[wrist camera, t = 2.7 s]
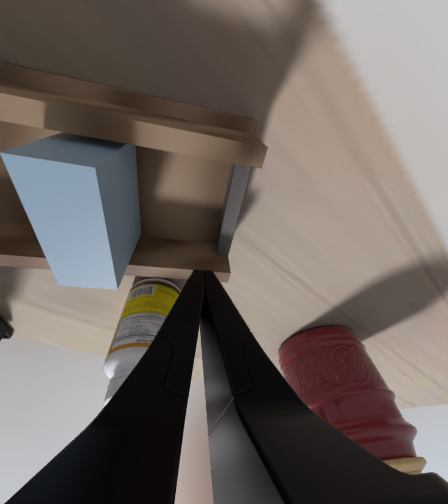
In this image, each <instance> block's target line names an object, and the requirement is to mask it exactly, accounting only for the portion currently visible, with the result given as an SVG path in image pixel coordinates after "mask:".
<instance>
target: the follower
mask: <svg viewBox="0 0 448 504" xmlns="http://www.w3.org/2000/svg"><path fill="white" fill-rule="evenodd" d="M0 155H1V157H2V159H3V161H4V164H5V166H6V168H7V170H8V173H9V175H10V177H11V180H12V182H13V184H14V186H15V189H16V191H17V193H18V195H19V198H20V200H21V202H22V204H23V207H24V209H25V211H26V213H27V216H28V218H29V220H30V223H31V225H32V227H33V229H34V232H35V234H36V236H37V238H38V241H39V243H40V245H41V247H42V250H43V252H44V254H45V257H46V259H47V261H48V263H49V266H50V268H51V270H52V272H53V275H54V277H55V279H56V281H57V284H58V286H69V287H85V288H102V289H118V287H119V285H120V283H121V280H122V278H123V275H124V273H125V271H126V268H127V266H128V263H129V261H130V259H131V256H132V254H133V251H134V249H135V247H136V244H137V242H138V239H139V237H140V235H141V223H140V208H139V193H138V177H137V162H136V146H135V145H131V144H125V143H120V142H114V141H109V140H103V139H98V138H92V137H87V136H81V135H76V134H71V133H65V132H61V133H58V134H55V135H52V136H49V137H46V138H43V139H40V140H37V141H34V142H31V143H27V144H24V145H21V146H18V147H15V148H12V149H9V150H6V151H3V152H0Z"/></svg>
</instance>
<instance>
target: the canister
mask: <svg viewBox="0 0 448 504" xmlns="http://www.w3.org/2000/svg"><path fill="white" fill-rule="evenodd" d="M278 355H279V364H280V368H281V371H282V373H283V375H284V378H285V380H286V381H287V382H288V383H289V385H290V386H291V387H292V389H293V390H294V391H295V392H296V394H297V395H298V396H299V397H300V399H301V400H302V401H303V402H304V403H305V404H306V405H307V406H308V407H309V408H310V409H311V410H312V411H313V412H314V413H316V414H317V415H318V416H319V417H321V418H322V419H324V420H325V421H326V422H328V423H329V424H331V425H332V426H333V427H335V428H336V429H338V430H339V431H341V432H342V433H343V434H345V435H346V436H348V437H349V438H350V439H352V440H353V441H355V442H356V443H357V444H359V445H360V446H362V447H363V448H365V449H366V450H367V451H369V452H370V453H372V454H373V455H374V456H376V457H377V458H379V459H380V460H382V461H383V462H385V463H386V464H388V465H389V466H391V467H393V468H395V469H397V470H399V471H401V472H404V473H407V474H421V471H422V470H423V468H424V466H425V464H426V460H425V459H424V458H423V457H417V456H416V452H415V449H414V445H413V440H414V438H415V436H416V434H417V430H416V428H415V427H414V426H413V425H411V424H410V423H408V422H407V421H405V419H404V418H403V417H402V415H401V413H400V411H399V409H398V407H397V405H396V403H395V401H394V400H395V394H394V392H392V391H391V390H390V389H389V387H388V386H387V384H386V383H385V381H384V379H383V378H382V376H381V375H380V373H379V371H378V370H377V368H376V367H375V365H374V363H373V362H372V360H371V358H370V357H369V355H368V354H367V352H366V349H365V346H364V345H363V344H362V342H361V340H360V339H359V338H358V337H357V336H356V335H355V334H354V332H353V331H352V330H350V329H348V328H345V327H340V326H325V327H319V328H314V329H310V330H307V331H304V332H302V333H299V334H297V335H295V336H293V337H291V338H290V339H288V340H287V341H286V342H285V343H284V344H283V345H282V346H281V347H280V349H279V352H278Z"/></svg>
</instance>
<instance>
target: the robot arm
mask: <svg viewBox="0 0 448 504" xmlns="http://www.w3.org/2000/svg"><path fill="white" fill-rule="evenodd" d="M199 325H200V334H201V347H202V360H203V373H204V385H205V397H206V411H207V423H208V435H209V450H210V463H211V475H212V487H213V500H214V504H448V482H447V481H445V480H444V479H443V478H442V477H440V476H439V475H438V474H436V473H433V472H431V473H421V474H407V473H404V472H401V471H399V470H397V469H395V468H393V467H391V466H389V465H388V464H386V463H385V462H383V461H382V460H380V459H379V458H377V457H376V456H374V455H373V454H372V453H370V452H369V451H367V450H366V449H365V448H363V447H362V446H360V445H359V444H357V443H356V442H355V441H353V440H352V439H350V438H349V437H348V436H346V435H345V434H343V433H342V432H341V431H339V430H338V429H336V428H335V427H333V426H332V425H331V424H329V423H328V422H326V421H325V420H324V419H322V418H321V417H319V416H318V415H317V414H316V413H314V412H313V411H312V410H311V409H310V408H309V407H308V406H307V405H306V404H305V403H304V402H303V401H302V400H301V399H300V397H299V396H298V395H297V394H296V392H295V391H294V390H293V389H292V387H291V386H290V385H289V383H288V382H287V381H286V380H285V378H284V377H283V376H282V374H281V373H280V372H279V371H278V369H277V368H276V367H275V365H274V364H273V363H272V362H271V360H270V359H269V357H268V356H267V355H266V353H265V352H264V351H263V349H262V348H261V346H260V345H259V343H258V342H257V340H256V339H255V337H254V335H253V334H252V332H250V329H249V327H248V326H247V324H246V323H245V321H244V319H243V318H242V316H241V315H240V313H239V311H238V310H237V308H236V307H235V305H234V303H233V302H232V300H231V299H230V297H229V296H228V294H227V292H226V291H225V289H224V288H223V286H222V284H221V283H220V281H219V280H218V278H217V276H216V275H215V273H214V272H213V271H212V270H204V271H203V270H201V269H194V270H193V272H192V274H191V275H190V277H189V279H188V280H187V282H186V284H185V286H184V287H183V289H182V291H181V293H180V294H179V296H178V298H177V300H176V301H175V303H174V305H173V306H172V308H171V310H170V312H169V313H168V315H167V317H166V319H165V320H164V322H163V324H162V326H161V327H160V330H159V331H158V332H157V334H156V336H155V337H154V339H153V341H152V342H151V344H150V345H149V347H148V349H147V350H146V352H145V353H144V355H143V356H142V357H141V359H140V360H139V362H138V363H137V365H136V366H135V367H134V369H133V370H132V371H131V373H130V374H129V375H128V377H127V378H126V379H125V381H124V382H123V383H122V385H121V386H120V387H119V389H118V390H117V391H116V393H115V394H114V395H113V397H112V398H111V399H110V401H109V402H108V403H107V404H106V406H105V407H104V408H103V409H102V411H101V412H100V413H99V414H98V416H97V417H96V418H95V419H94V420H93V421H92V422H91V423H90V424H89V425H88V426H87V427H86V428H85V429H84V430H83V431H82V432H81V433H80V434H79V435H78V436H77V437H76V438H75V439H74V440H72V441H71V442H70V444H68V445H67V446H66V447H65V448H64V449H63V450H62V451H61V452H60V453H58V454H57V455H56V456H55V457H54V458H53V459H52V460H51V461H50V462H49V463H48V464H47V465H46V466H45V467H44V468H42V469H41V470H40V471H39V472H38V473H37V474H36V475H35V476H34V477H33V478H32V479H30V480H29V481H28V482H27V483H26V484H25V485H24V486H23V487H22V488H21V489H20V490H19V491H18V492H16V493H15V494H14V495H13V496H12V497H11V498H10V499H9V500H8V501H7V502H6V503H4V504H174V502H175V494H176V486H177V478H178V470H179V462H180V454H181V446H182V439H183V431H184V423H185V415H186V409H187V403H188V396H189V390H190V383H191V377H192V370H193V364H194V357H195V351H196V344H197V338H198V331H199ZM12 335H13V333H12V332H11V331H10V330H9V328H8V327H7V326H6V325H5V323H4V322H3V321H2V320H1V318H0V340H1V339H9V338H11V336H12Z"/></svg>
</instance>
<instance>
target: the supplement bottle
mask: <svg viewBox="0 0 448 504" xmlns="http://www.w3.org/2000/svg"><path fill="white" fill-rule="evenodd" d="M180 293H181V291H180V289H179V288H178V287H177V286H176V285H175V284H173V283H172V282H170V281H168V280H165V279H160V278H148V279H144V280H141V281H139V282H137V283H136V284H134V285H133V287H132V288H131V289H130V292H129V294H128V297H127V300H126V303H125V306H124V308H123V311H122V314H121V317H120V320H119V323H118V326H117V328H116V331H115V334H114V337H113V340H112V343H111V345H110V348H109V351H108V354H107V357H106V359H105V363H104V372H105V374H106V375H107V376H108V377H109V378H110V383H109V385H108V390H107V393H106V397H105V400H104V405H105V406H106V404H107V403H108V402H109V401H110V399H111V398H112V397H113V395H114V394H115V393H116V391H117V390H118V389H119V387H120V386H121V385H122V383H123V382H124V381H125V379H126V378H127V377H128V375H129V374H130V373H131V371H132V370H133V369H134V367H135V366H136V365H137V363H138V362H139V360H140V359H141V357H142V356H143V355H144V353H145V352H146V350H147V349H148V347H149V345H150V344H151V342H152V341H153V339H154V337H155V336H156V334H157V332H158V331H159V330H160V327H161V326H162V324H163V322H164V320H165V319H166V317H167V315H168V313H169V312H170V310H171V308H172V306H173V305H174V303H175V301H176V300H177V298H178V296H179V294H180Z"/></svg>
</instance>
